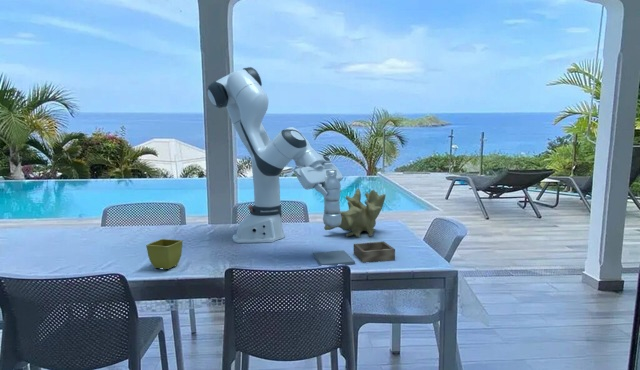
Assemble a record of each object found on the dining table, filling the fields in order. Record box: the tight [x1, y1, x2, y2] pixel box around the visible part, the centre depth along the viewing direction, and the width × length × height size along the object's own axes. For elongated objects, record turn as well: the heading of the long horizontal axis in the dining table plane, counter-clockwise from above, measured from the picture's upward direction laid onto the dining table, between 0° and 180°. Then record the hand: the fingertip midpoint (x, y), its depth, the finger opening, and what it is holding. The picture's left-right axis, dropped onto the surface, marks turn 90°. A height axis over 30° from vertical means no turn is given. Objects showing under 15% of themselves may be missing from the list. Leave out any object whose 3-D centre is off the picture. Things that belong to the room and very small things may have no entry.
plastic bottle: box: [322, 170, 342, 227], centre depth 155 cm, size 6×7×20 cm
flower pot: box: [145, 238, 184, 270], centre depth 152 cm, size 9×9×9 cm
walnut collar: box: [353, 241, 396, 264], centre depth 161 cm, size 12×11×4 cm
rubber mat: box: [312, 250, 356, 266], centre depth 159 cm, size 12×14×1 cm
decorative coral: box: [324, 188, 386, 238], centre depth 194 cm, size 26×22×25 cm
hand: (333, 193), depth 155 cm, fingers closed on plastic bottle, 6 cm apart
